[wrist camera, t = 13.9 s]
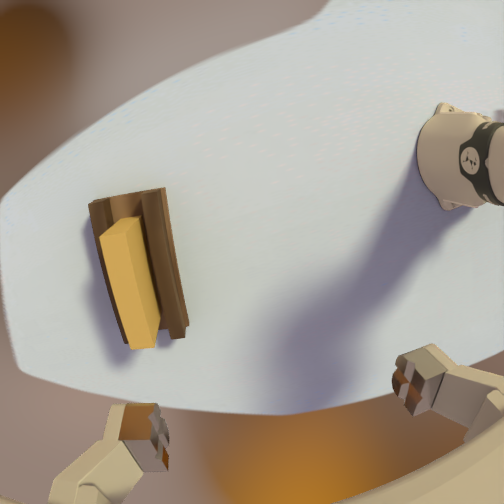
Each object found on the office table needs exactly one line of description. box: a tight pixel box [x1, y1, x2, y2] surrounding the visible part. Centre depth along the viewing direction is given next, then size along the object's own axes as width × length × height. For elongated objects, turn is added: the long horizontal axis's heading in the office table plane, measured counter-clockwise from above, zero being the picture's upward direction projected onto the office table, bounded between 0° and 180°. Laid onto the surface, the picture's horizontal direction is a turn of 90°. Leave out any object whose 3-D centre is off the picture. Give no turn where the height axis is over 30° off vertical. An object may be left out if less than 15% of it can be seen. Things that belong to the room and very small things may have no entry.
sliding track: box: [88, 187, 189, 344], centre depth 39 cm, size 10×20×4 cm, turn 5°
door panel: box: [99, 215, 162, 350], centre depth 36 cm, size 3×14×9 cm, turn 5°
